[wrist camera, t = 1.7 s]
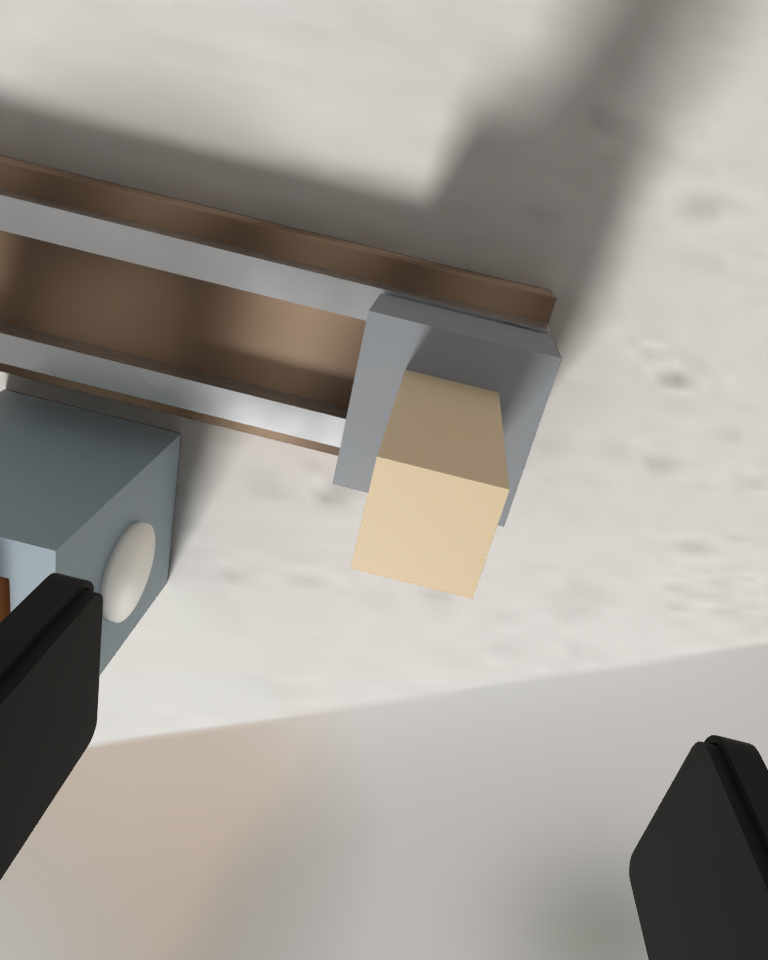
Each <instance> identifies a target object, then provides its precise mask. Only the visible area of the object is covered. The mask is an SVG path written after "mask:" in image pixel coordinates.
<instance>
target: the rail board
mask: <svg viewBox="0 0 768 960" xmlns="http://www.w3.org/2000/svg"><path fill="white" fill-rule="evenodd" d="M380 294H385V295H389V296H393V297H397V298H401V299H405V300H409V301H413V302H417V303H421V304H425V305H429V306H433V307H438V308H442V309H446V310H450V311H454V312H458V313H462V314H466V315H470V316H474V317H478V318H482V319H486V320H490V321H494V322H498V323H502V324H506V325H510V326H515V327H519V328H523V329H527V330H531V331H535V332H539V333H543V334H547V335H550V334H551V329H550V327H549V324H548V322H549V319H550V316H551V313H552V310H553V307H554V303H555V300H556V298H555V296H554V294H553V293H552V291H548V290H544V289H540V288H536V287H532V286H528V285H524V284H520V283H516V282H512V281H508V280H504V279H499V278H495V277H491V276H487V275H483V274H479V273H475V272H471V271H467V270H463V269H459V268H455V267H451V266H447V265H443V264H438V263H434V262H430V261H426V260H422V259H418V258H414V257H410V256H406V255H402V254H398V253H394V252H390V251H386V250H382V249H377V248H373V247H369V246H365V245H361V244H357V243H353V242H349V241H345V240H341V239H337V238H333V237H329V236H325V235H321V234H316V233H312V232H308V231H304V230H300V229H296V228H292V227H288V226H284V225H280V224H276V223H272V222H268V221H264V220H260V219H255V218H251V217H247V216H243V215H239V214H235V213H231V212H227V211H223V210H219V209H215V208H211V207H207V206H203V205H199V204H194V203H190V202H186V201H182V200H178V199H174V198H170V197H166V196H162V195H158V194H154V193H150V192H146V191H142V190H137V189H133V188H129V187H125V186H121V185H117V184H113V183H109V182H105V181H101V180H97V179H93V178H89V177H85V176H81V175H76V174H72V173H68V172H64V171H60V170H56V169H52V168H48V167H44V166H40V165H36V164H32V163H28V162H24V161H20V160H15V159H11V158H7V157H3V156H0V371H2V372H6V373H10V374H14V375H18V376H22V377H26V378H30V379H34V380H38V381H42V382H46V383H50V384H54V385H58V386H62V387H66V388H70V389H74V390H78V391H82V392H86V393H90V394H94V395H98V396H102V397H106V398H110V399H114V400H118V401H122V402H126V403H130V404H134V405H138V406H142V407H146V408H150V409H154V410H158V411H162V412H166V413H170V414H174V415H178V416H182V417H186V418H189V419H193V420H197V421H201V422H205V423H209V424H213V425H217V426H221V427H225V428H229V429H233V430H237V431H241V432H245V433H249V434H253V435H257V436H261V437H265V438H269V439H273V440H277V441H281V442H285V443H289V444H293V445H297V446H301V447H305V448H309V449H313V450H317V451H321V452H325V453H329V454H333V455H337V456H338V455H339V451H340V446H341V441H342V436H343V431H344V427H345V422H346V417H347V412H348V407H349V402H350V398H351V393H352V388H353V383H354V378H355V373H356V369H357V364H358V359H359V354H360V349H361V344H362V340H363V335H364V330H365V325H366V320H367V315H368V311H369V309H370V308H371V306H372V305H373V304H374V302H375V301H376V299H377V298H378V296H379V295H380Z"/></svg>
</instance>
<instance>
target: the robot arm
mask: <svg viewBox="0 0 768 960" xmlns="http://www.w3.org/2000/svg"><path fill="white" fill-rule="evenodd" d="M102 614H103V596H102V594H100V593H96V592H94V586H93V583H92V582H90V581H88V580H84V579H80V578H76V577H72V576H68V575H64V574H60V573H52V574H50V575H49V576H48V577H46V578H45V579H44V580H43V581H42V582H41V583H40V584H39V585H38V586H37V587H36V588H35V589H34V590H33V591H32V592H31V593H30V594H29V595H28V596H27V597H26V598H25V599H24V600H23V601H22V602H21V603H20V604H19V605H18V606H17V607H16V608H15V609H14V610H13V611H12V612H11V613H9V614H8V615H7V616H6V617H5V618H4V619H3V620H2V621H1V622H0V880H1V878H2V877H3V875H4V874H5V872H6V871H7V869H8V868H9V866H10V865H11V863H12V861H13V860H14V858H15V857H16V855H17V854H18V852H19V851H20V849H21V848H22V846H23V845H24V843H25V842H26V840H27V838H28V837H29V835H30V834H31V832H32V831H33V829H34V828H35V826H36V825H37V823H38V822H39V820H40V819H41V817H42V815H43V814H44V812H45V811H46V809H47V808H48V806H49V805H50V803H51V802H52V800H53V799H54V797H55V795H56V794H57V792H58V791H59V789H60V788H61V786H62V785H63V783H64V782H65V780H66V779H67V777H68V776H69V774H70V772H71V771H72V769H73V768H74V766H75V765H76V763H77V762H78V760H79V759H80V757H81V756H82V754H83V753H84V751H85V750H86V748H87V746H88V745H89V743H90V741H91V739H92V736H93V734H94V731H95V727H96V723H97V709H98V690H99V671H100V652H101V633H102ZM629 875H630V882H631V886H632V890H633V895H634V899H635V903H636V907H637V911H638V916H639V920H640V924H641V929H642V932H643V937H644V941H645V945H646V950H647V954H648V958H649V960H768V770H767V768H766V766H765V764H764V762H763V760H762V758H761V756H760V754H759V752H758V751H757V749H756V748H755V747H754V746H753V745H751V744H749V743H745V742H741V741H737V740H733V739H729V738H725V737H721V736H716V735H711V736H710V737H708V738H707V739H706V740H705V742H697V743H695V744H694V746H693V747H692V748H691V751H690V752H689V754H688V756H687V757H686V759H685V761H684V763H683V765H682V766H681V768H680V770H679V772H678V773H677V775H676V777H675V779H674V781H673V782H672V784H671V786H670V788H669V789H668V791H667V793H666V795H665V796H664V798H663V800H662V802H661V804H660V805H659V807H658V809H657V811H656V812H655V814H654V816H653V818H652V820H651V821H650V823H649V825H648V827H647V829H646V830H645V832H644V834H643V836H642V837H641V839H640V841H639V843H638V844H637V846H636V848H635V850H634V852H633V854H632V856H631V860H630V867H629Z"/></svg>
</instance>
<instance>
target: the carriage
mask: <svg viewBox="0 0 768 960" xmlns="http://www.w3.org/2000/svg"><path fill="white" fill-rule="evenodd" d="M561 359H562V358H561V356H560V354H559V352H558V349H557V347H556V345H555V343H554V340H553V338H552V336H551V335H547V334H543V333H539V332H535V331H531V330H527V329H523V328H519V327H515V326H510V325H506V324H502V323H498V322H494V321H490V320H486V319H482V318H478V317H474V316H470V315H466V314H462V313H458V312H454V311H450V310H446V309H442V308H438V307H433V306H429V305H425V304H421V303H417V302H413V301H409V300H405V299H401V298H397V297H393V296H389V295H385V294H380V295H379V296H378V298H377V299H376V301H375V302H374V304H373V305H372V306H371V308H370V309H369V311H368V315H367V320H366V325H365V330H364V335H363V340H362V344H361V349H360V354H359V359H358V364H357V369H356V373H355V378H354V383H353V388H352V393H351V398H350V402H349V407H348V412H347V417H346V422H345V427H344V431H343V436H342V441H341V446H340V451H339V455H338V460H337V465H336V470H335V475H334V480H333V484H335V485H339V486H343V487H347V488H351V489H355V490H359V491H363V492H367V493H368V496H367V501H366V505H365V509H364V514H363V518H362V522H361V526H360V531H359V535H358V539H357V543H356V548H355V552H354V556H353V560H352V565H351V569H355V570H359V571H363V572H367V573H371V574H375V575H379V576H383V577H387V578H391V579H395V580H399V581H403V582H407V583H411V584H415V585H419V586H423V587H427V588H431V589H435V590H438V591H442V592H446V593H450V594H454V595H458V596H462V597H466V598H470V599H473V597H474V594H475V591H476V588H477V585H478V582H479V579H480V576H481V573H482V570H483V567H484V564H485V561H486V558H487V555H488V552H489V549H490V546H491V543H492V540H493V537H494V534H495V531H496V528H497V525H499V526H503V527H504V525H505V522H506V519H507V517H508V514H509V511H510V508H511V505H512V502H513V499H514V496H515V493H516V490H517V487H518V484H519V481H520V479H521V476H522V473H523V470H524V467H525V464H526V461H527V458H528V455H529V452H530V449H531V446H532V443H533V440H534V438H535V435H536V432H537V429H538V426H539V423H540V420H541V417H542V414H543V411H544V408H545V405H546V402H547V400H548V397H549V394H550V391H551V388H552V385H553V382H554V379H555V376H556V373H557V370H558V367H559V364H560V362H561Z"/></svg>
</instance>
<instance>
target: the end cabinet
mask: <svg viewBox="0 0 768 960" xmlns="http://www.w3.org/2000/svg"><path fill="white" fill-rule="evenodd" d="M180 441H181V434H180V433H176V432H172V431H168V430H164V429H160V428H156V427H152V426H148V425H144V424H140V423H136V422H132V421H128V420H124V419H120V418H116V417H112V416H108V415H104V414H100V413H96V412H92V411H88V410H84V409H80V408H76V407H72V406H68V405H64V404H60V403H56V402H52V401H48V400H44V399H40V398H36V397H32V396H28V395H24V394H20V393H16V392H12V391H8V390H3V391H1V392H0V577H4V578H8V579H9V580H10V613H11V612H12V611H13V610H14V609H15V608H16V607H17V606H18V605H19V604H20V603H21V602H22V601H23V600H24V599H25V598H26V597H27V596H28V595H29V594H30V593H31V592H32V591H33V590H34V589H35V588H36V587H37V586H38V585H39V584H40V583H41V582H42V581H43V580H44V579H45V578H46V577H48V576H49V575H50V574H52V573H60V574H64V575H68V576H72V577H76V578H80V579H84V580H88V581H90V582H92V583H93V586H94V592H96V593H100V594H102V596H103V614H102V633H101V652H100V671H99V676H100V674H101V673H102V671H103V670H104V669H105V667H106V666H107V665H108V663H109V662H110V660H111V659H112V658H113V656H114V655H115V654H116V652H117V651H118V649H119V648H120V647H121V645H122V644H123V643H124V641H125V640H126V638H127V637H128V636H129V634H130V633H131V632H132V630H133V629H134V627H135V626H136V625H137V623H138V622H139V621H140V619H141V618H142V616H143V615H144V614H145V612H146V611H147V610H148V608H149V607H150V605H151V604H152V603H153V601H154V600H155V599H156V597H157V596H158V594H159V593H160V592H161V590H162V589H163V588H164V586H165V585H166V583H167V580H168V569H169V558H170V548H171V537H172V526H173V516H174V505H175V495H176V484H177V473H178V463H179V452H180Z"/></svg>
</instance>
